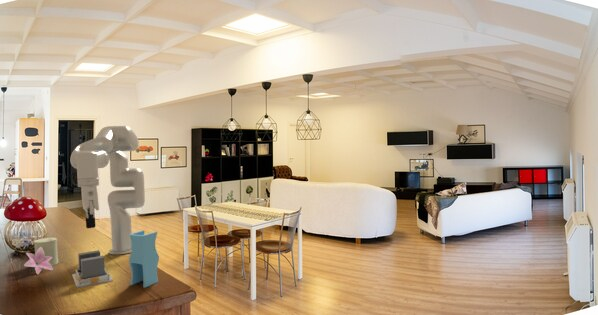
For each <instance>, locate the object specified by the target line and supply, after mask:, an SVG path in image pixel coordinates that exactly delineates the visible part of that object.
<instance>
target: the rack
mask: <svg viewBox="0 0 598 315" xmlns="http://www.w3.org/2000/svg"><path fill="white" fill-rule="evenodd" d="M77 254H78V255H77V256H78V257H77V258H78V259H77V260H78V268H76V269H75V270H74V272H75V273H72V274H71V276H72V279H73V282H74V284H75V288H76V289H78V288H79V289H80V288H84V287H89V286H93V285H99V284H104V283H109V282H113V281H114V279H113V277H112V276H111V274H110V272H109V271H108V270H107V268H105V266H104V268H105V275H102V276H97V277H91V278H86V279H82V272H81V259H86V258H91V257H97V256H101V251H100V250H99V249H98V250H93V251H87V252H81V253H80V252H79V253H77Z"/></svg>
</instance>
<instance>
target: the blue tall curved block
mask: <svg viewBox="0 0 598 315" xmlns="http://www.w3.org/2000/svg"><path fill="white" fill-rule="evenodd" d="M157 235H158V231H154V232H151V233H150V232H149V233H147V234H145V230H139V231H136V232H133V233H132V234H130V239H131V243H132V251H131V253H130V256H129V259H128V264H129V268H130V272H131V279H130V284H129V285H130V286H133V285H135V284H138V283H140V282H143V284H142V285H143V286H142V287H143V288H145V289H146V288H147V287H151V286H152V285H155V284H156V283H158V282H159V278H158V277H159V276H158V265H159V261H160V256H159V254H158V251H157V248H156V240H157Z"/></svg>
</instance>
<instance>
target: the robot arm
mask: <svg viewBox="0 0 598 315" xmlns="http://www.w3.org/2000/svg"><path fill="white" fill-rule="evenodd" d="M138 148H139V139H138V136H137V135H136V133H135V132H134V130H133V129H132V128H131V127H129V126H127V125H111V126H109V125H108V126H105V127H102V128H101V129H100V130H99V131H98V133H97V135H96V136H95V138H92V139H89V140H87V141H85V142H82V143H80V144H78V145H77V146H76V147H75V148H74V149H73V151H72V152H71V155H70V160H69V162H70V164H71V167H73V168H74V169H76V174H77V177H76V178H77V187H78V188H81V189H80V190H81V203H82V209H83V210H84V211H85V227H86V229H93V228H95V229H96V217H95V214H96V213H95V210H96V211H99V210H100V207H99V195H98V194H99V193H98V188H97V186H99V185H100V178H99V169H103V168H105V167H107V165H108V164H109V173H110V176H109V178H110V184H111V186H112V187H114V188H134V189H117V190H112V191H111V192H109V193H108V195H107V204H108V208H109V215H110V229H111V230H110V231H111V234H110V235H111V249H109V250H108V254H110V255H112V256H115V255H117V256H118V255H125V254H126V255H127V254H131V251H132V243H131V239H130V234H132V232H133V231H132V216H131V214H130V213H129V212H128V210H127V209H138V208H142V207H144V206H145V202H146V201H145V200H146V199H145V198H146V197H145V192H146V191H145V175H144V172H143V170H142V169H141V168H135V167H134V168H132V167H131V168H129V159H128V157H127V155H126V154H125V153H124V152H134V151H136V150H137V149H138Z"/></svg>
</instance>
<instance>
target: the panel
mask: <svg viewBox="0 0 598 315" xmlns="http://www.w3.org/2000/svg"><path fill="white" fill-rule="evenodd" d="M104 267H105V256H103V255H100V256H97V257H91V258H86V259H81V272H82V279H86V278H91V277H97V276H102V275H105V268H104Z"/></svg>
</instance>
